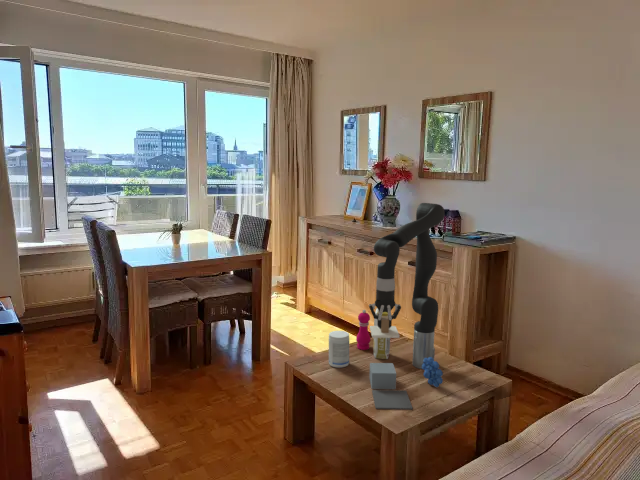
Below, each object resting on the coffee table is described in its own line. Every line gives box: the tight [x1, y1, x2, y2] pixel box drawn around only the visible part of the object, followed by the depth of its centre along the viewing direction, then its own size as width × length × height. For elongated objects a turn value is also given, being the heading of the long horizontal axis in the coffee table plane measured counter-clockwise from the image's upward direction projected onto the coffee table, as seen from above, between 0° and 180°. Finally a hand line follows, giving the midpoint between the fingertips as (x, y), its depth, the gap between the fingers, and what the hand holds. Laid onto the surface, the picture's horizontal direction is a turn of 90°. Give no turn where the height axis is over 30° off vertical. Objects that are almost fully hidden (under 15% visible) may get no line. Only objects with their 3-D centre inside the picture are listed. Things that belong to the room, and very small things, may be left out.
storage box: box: [369, 362, 397, 390], centre depth 199 cm, size 10×10×7 cm
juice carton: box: [372, 307, 391, 360], centre depth 226 cm, size 9×8×24 cm
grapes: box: [421, 357, 444, 388], centre depth 197 cm, size 12×7×12 cm, turn 31°
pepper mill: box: [355, 309, 372, 351], centre depth 236 cm, size 7×7×20 cm
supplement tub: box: [328, 330, 350, 369], centre depth 217 cm, size 10×10×15 cm
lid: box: [369, 316, 401, 339], centre depth 195 cm, size 11×11×6 cm
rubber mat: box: [371, 389, 413, 411], centre depth 186 cm, size 14×14×1 cm
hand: (384, 327), depth 195 cm, fingers closed on lid, 3 cm apart
